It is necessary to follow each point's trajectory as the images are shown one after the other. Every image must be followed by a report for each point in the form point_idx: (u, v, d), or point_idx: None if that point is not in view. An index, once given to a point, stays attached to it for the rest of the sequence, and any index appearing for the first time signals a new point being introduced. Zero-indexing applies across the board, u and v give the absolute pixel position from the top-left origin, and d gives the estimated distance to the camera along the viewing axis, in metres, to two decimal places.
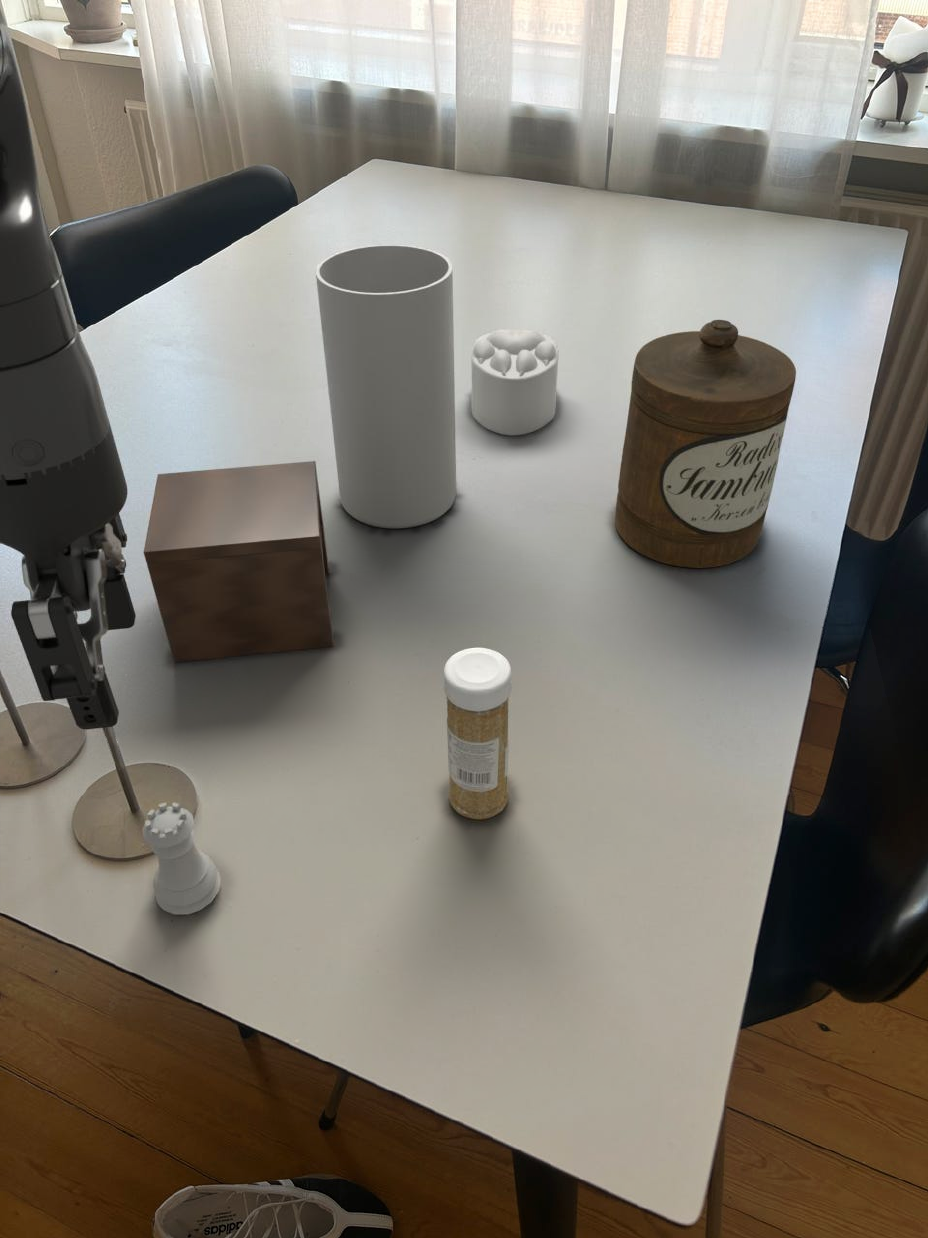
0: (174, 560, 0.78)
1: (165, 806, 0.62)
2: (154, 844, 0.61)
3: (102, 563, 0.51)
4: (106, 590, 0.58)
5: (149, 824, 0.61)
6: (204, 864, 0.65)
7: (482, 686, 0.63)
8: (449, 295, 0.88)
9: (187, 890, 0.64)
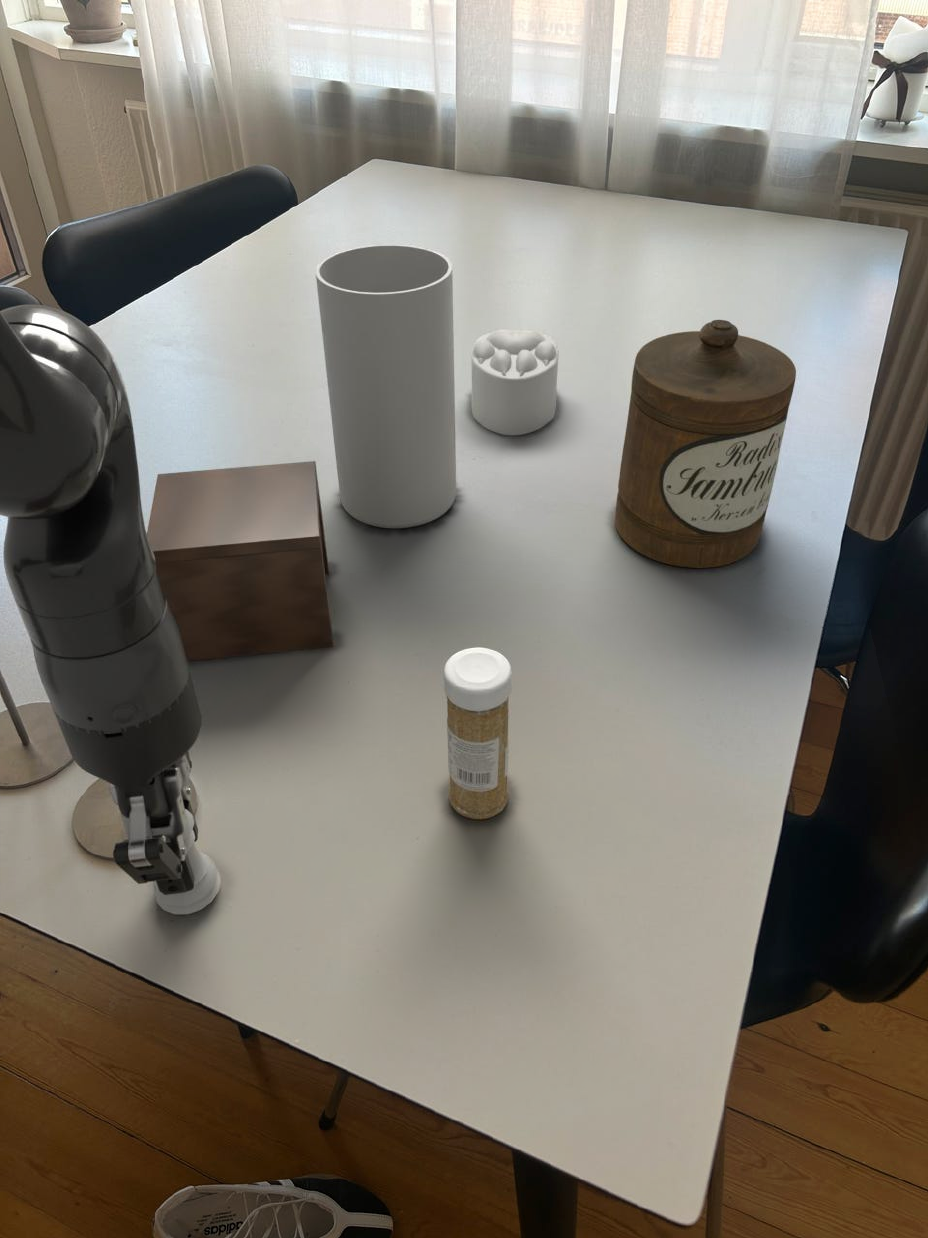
0: (174, 560, 0.78)
1: None
2: None
3: (179, 779, 0.58)
4: None
5: None
6: (204, 864, 0.65)
7: (483, 686, 0.63)
8: (449, 295, 0.88)
9: None
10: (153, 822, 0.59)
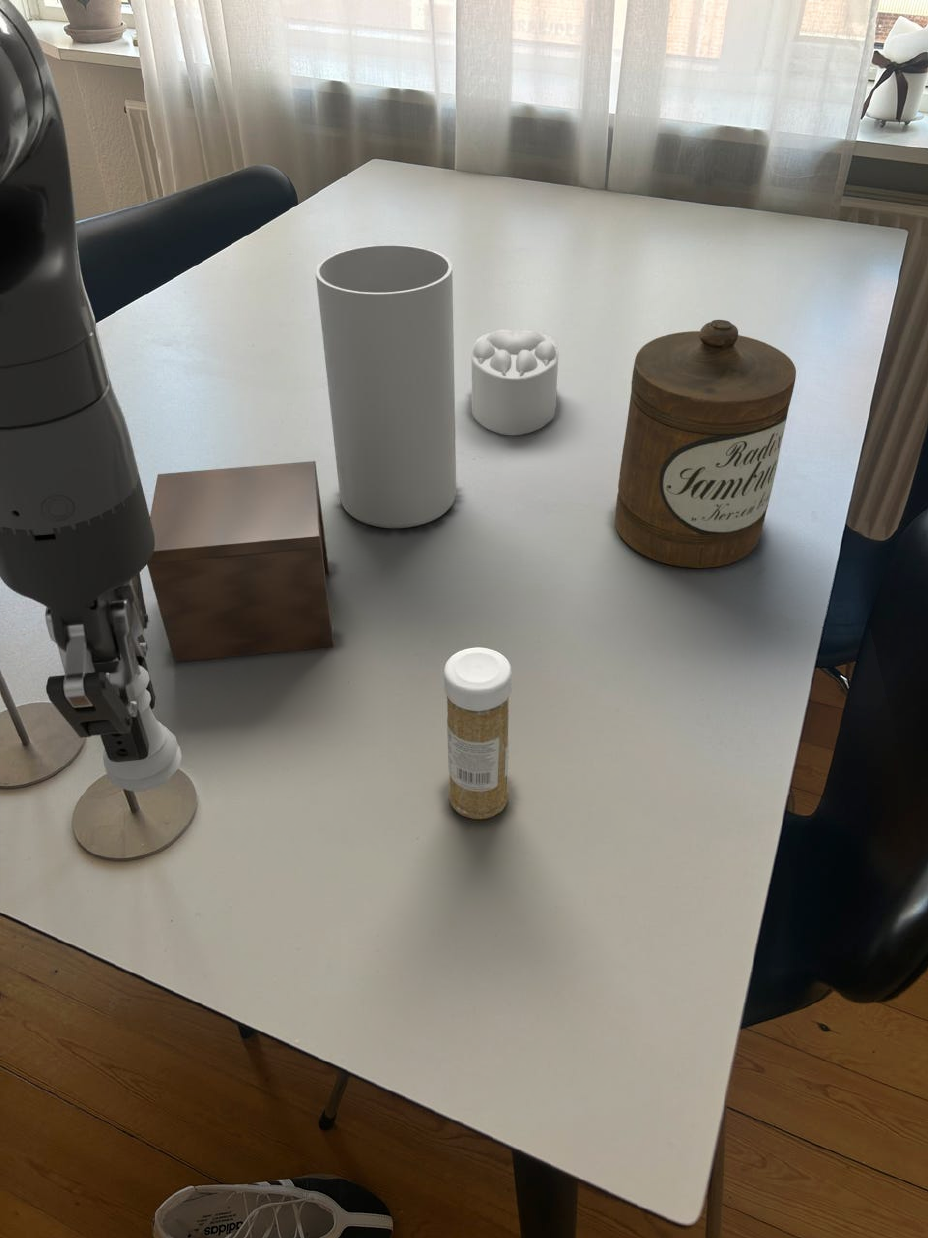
0: (174, 560, 0.78)
1: (116, 660, 0.54)
2: None
3: (128, 614, 0.49)
4: None
5: None
6: (162, 734, 0.57)
7: (483, 686, 0.63)
8: (449, 295, 0.88)
9: (141, 761, 0.56)
10: (99, 668, 0.51)
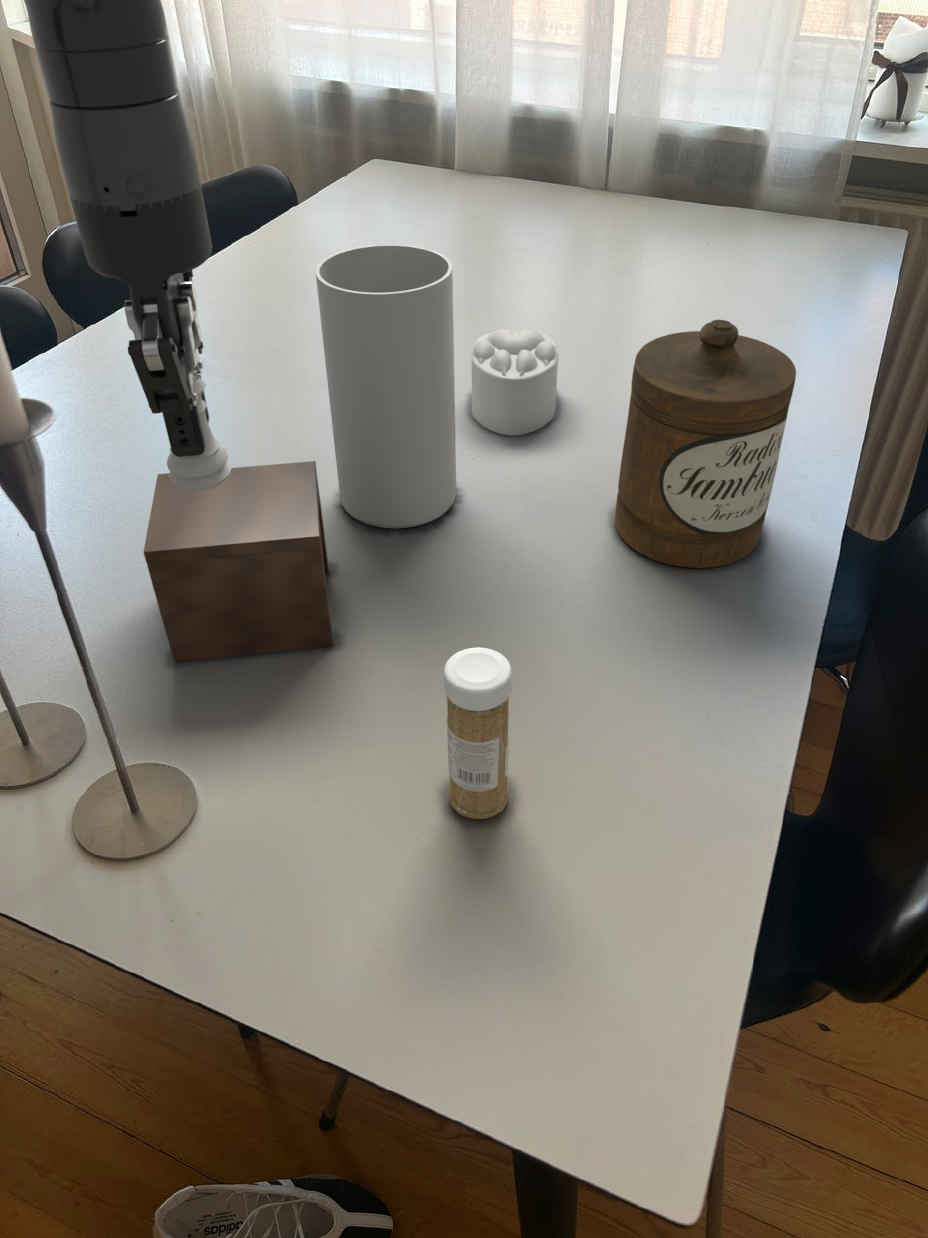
0: (174, 560, 0.78)
1: None
2: None
3: (190, 309, 0.61)
4: None
5: None
6: (215, 442, 0.68)
7: (483, 686, 0.63)
8: (449, 295, 0.88)
9: (199, 460, 0.67)
10: None
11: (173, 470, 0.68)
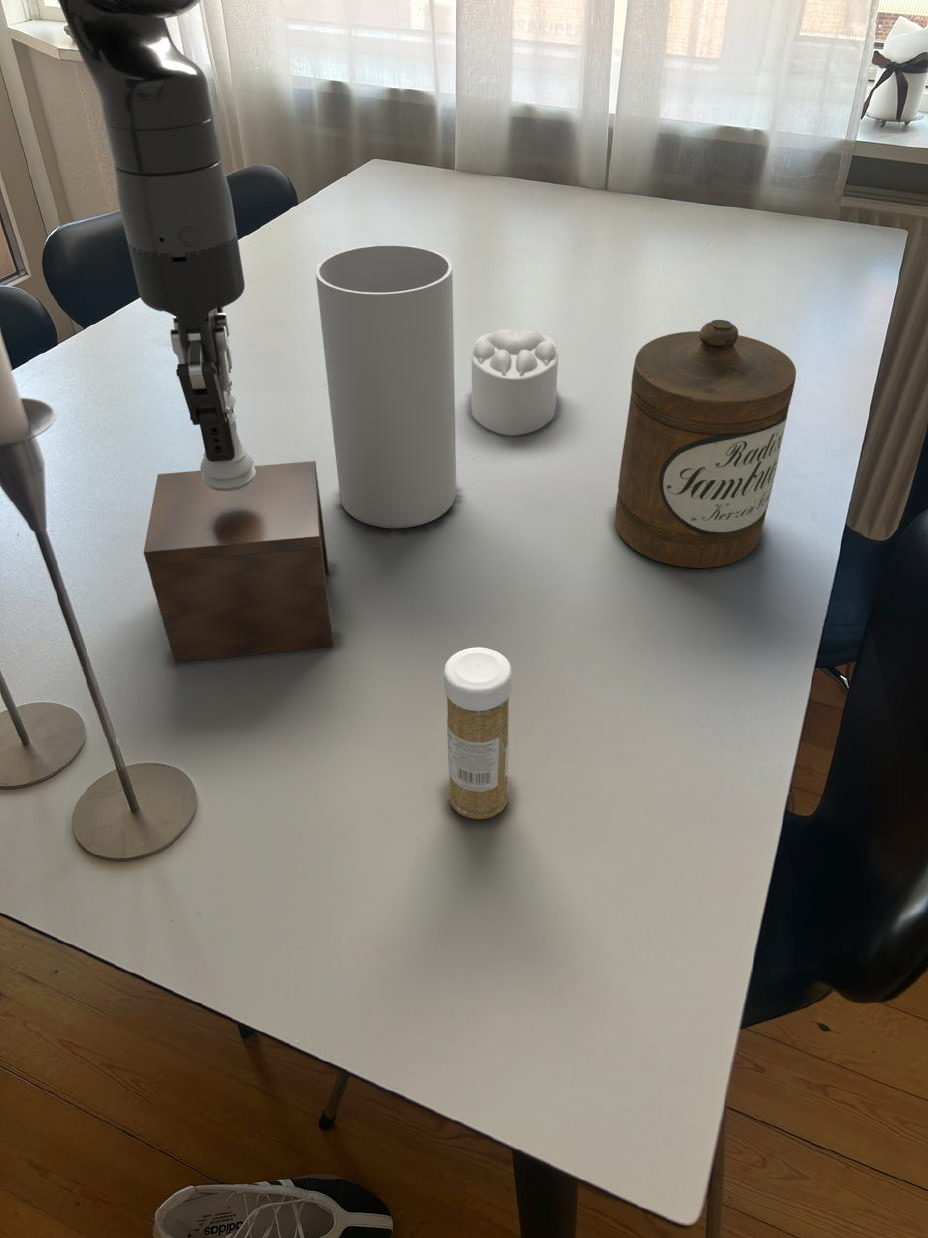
0: (174, 560, 0.78)
1: None
2: None
3: (226, 336, 0.71)
4: None
5: None
6: (242, 449, 0.79)
7: (483, 686, 0.63)
8: (449, 295, 0.88)
9: (229, 464, 0.78)
10: None
11: (206, 473, 0.78)
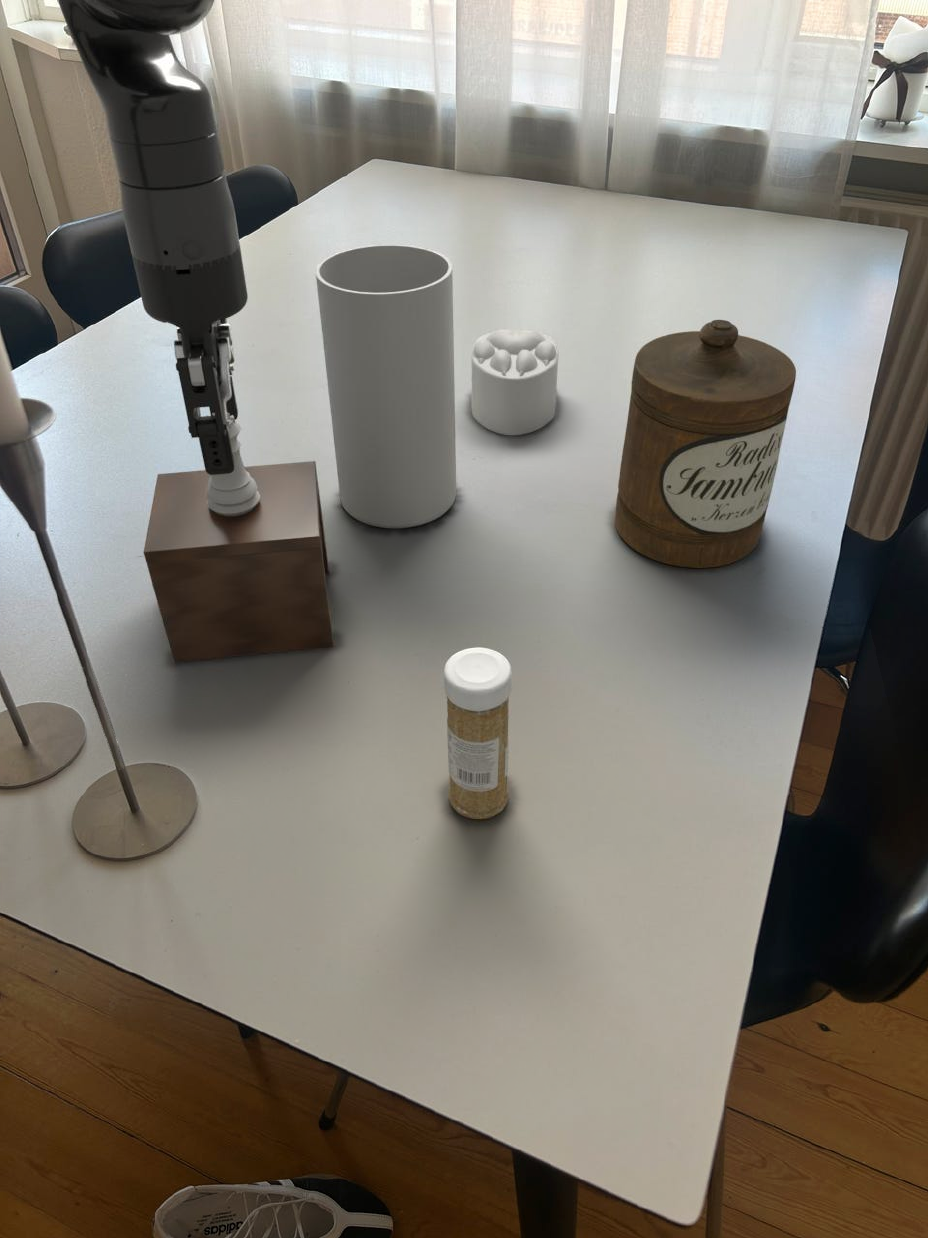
0: (174, 560, 0.78)
1: None
2: None
3: (229, 347, 0.72)
4: None
5: None
6: (247, 474, 0.80)
7: (483, 686, 0.63)
8: (449, 295, 0.88)
9: (234, 490, 0.80)
10: None
11: (212, 499, 0.80)
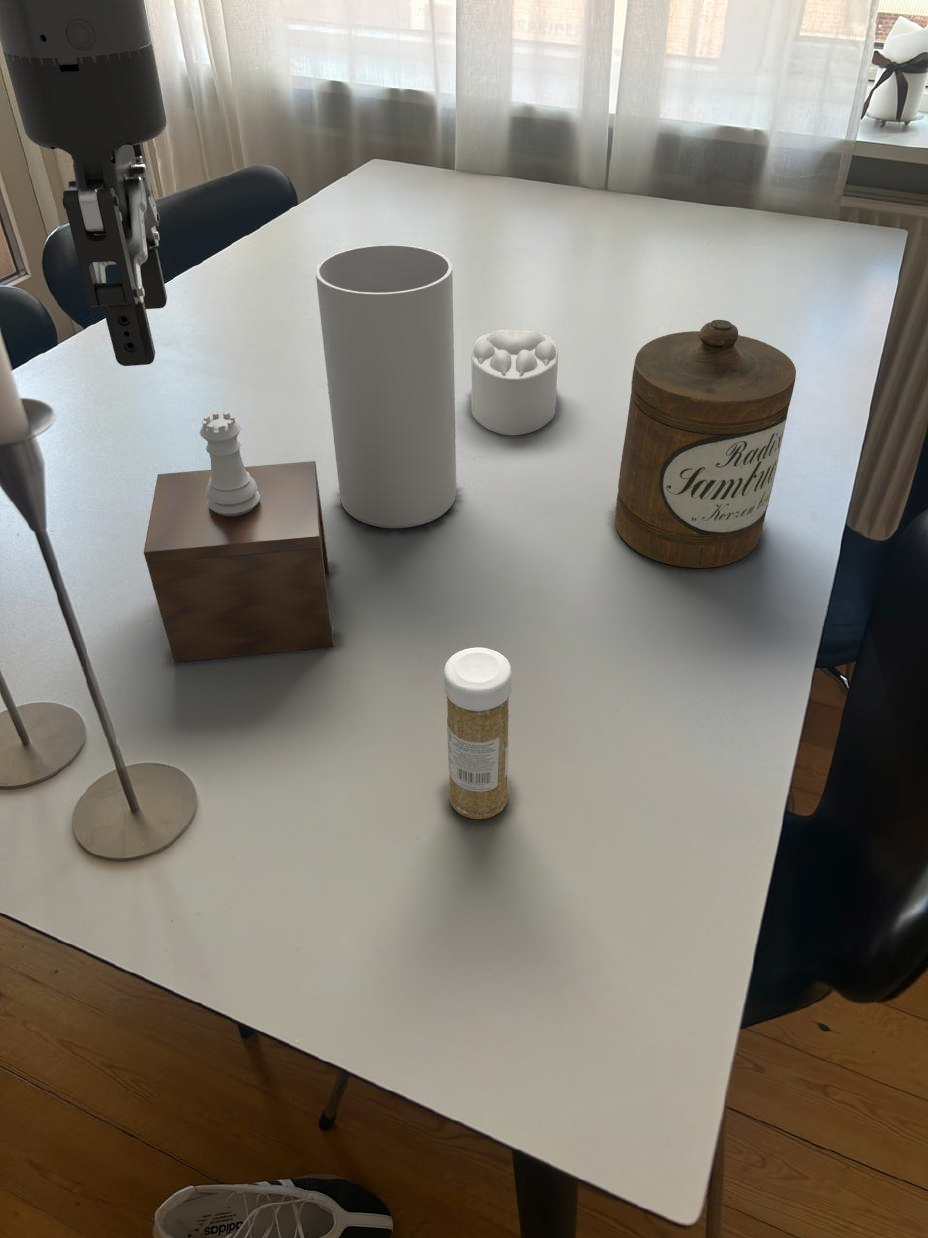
0: (174, 560, 0.78)
1: (217, 414, 0.78)
2: (210, 438, 0.76)
3: (142, 190, 0.54)
4: None
5: (205, 422, 0.77)
6: (247, 474, 0.80)
7: (483, 686, 0.63)
8: (449, 295, 0.88)
9: (234, 490, 0.80)
10: None
11: (212, 499, 0.80)
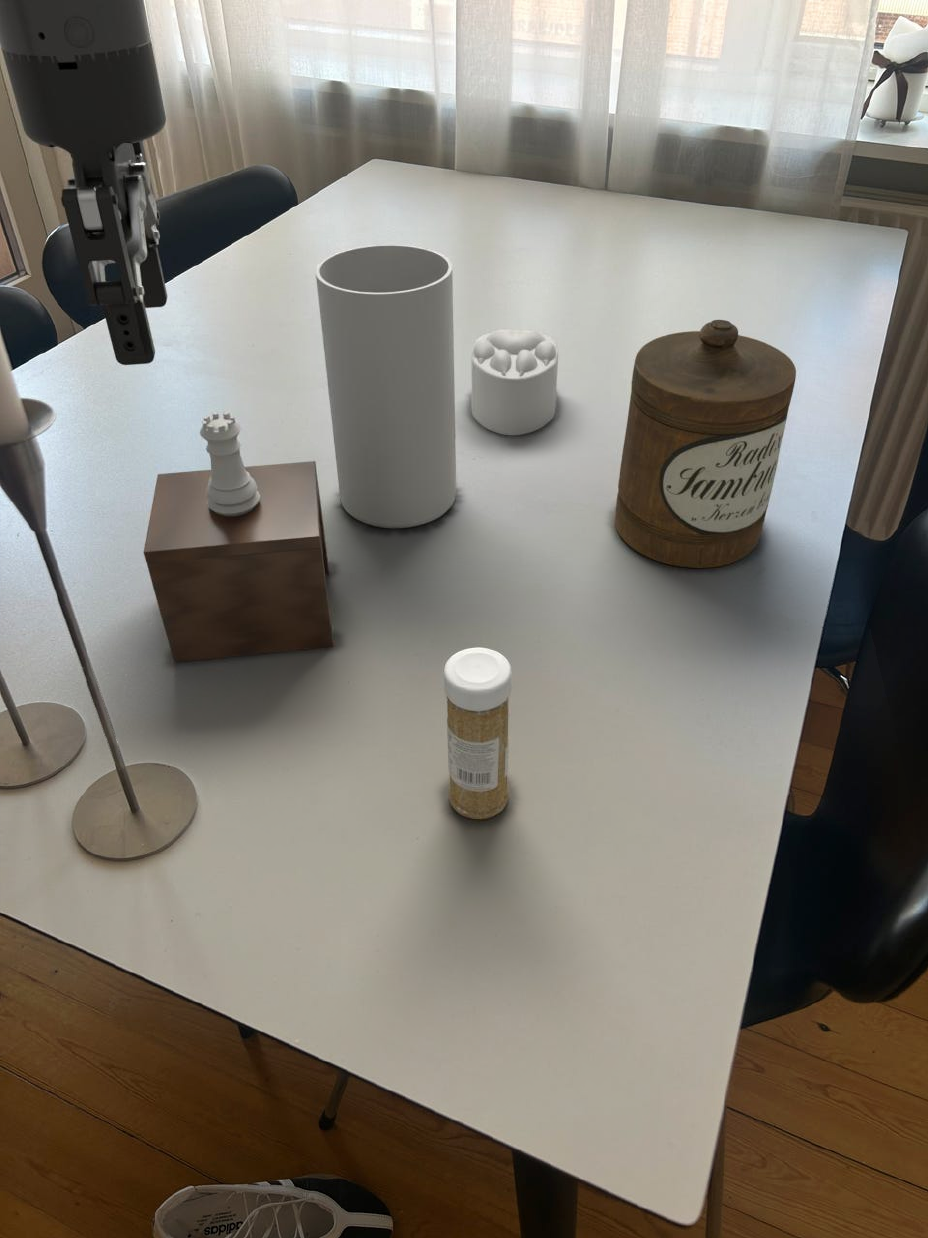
0: (174, 560, 0.78)
1: (217, 414, 0.78)
2: (209, 438, 0.76)
3: (142, 188, 0.54)
4: None
5: (205, 422, 0.77)
6: (247, 474, 0.80)
7: (483, 686, 0.63)
8: (449, 295, 0.88)
9: (234, 490, 0.80)
10: None
11: (212, 499, 0.80)
